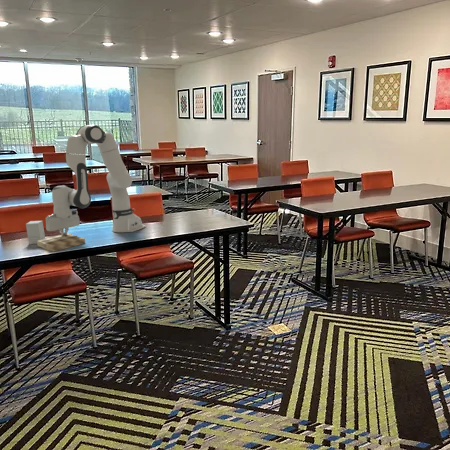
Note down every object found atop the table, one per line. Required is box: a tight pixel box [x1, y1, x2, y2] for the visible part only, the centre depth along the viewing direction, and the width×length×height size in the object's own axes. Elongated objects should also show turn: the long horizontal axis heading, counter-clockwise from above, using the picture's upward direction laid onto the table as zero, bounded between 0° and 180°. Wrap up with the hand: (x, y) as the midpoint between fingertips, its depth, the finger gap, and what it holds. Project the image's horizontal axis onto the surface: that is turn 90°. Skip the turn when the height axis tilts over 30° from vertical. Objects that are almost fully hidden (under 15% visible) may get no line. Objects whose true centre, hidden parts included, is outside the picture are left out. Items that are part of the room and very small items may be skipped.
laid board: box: [45, 235, 86, 252], centre depth 240 cm, size 20×8×3 cm, turn 142°
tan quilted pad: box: [36, 232, 76, 250], centre depth 246 cm, size 20×9×3 cm, turn 142°
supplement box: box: [25, 220, 46, 245], centre depth 249 cm, size 7×7×13 cm
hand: (64, 235), depth 250 cm, fingers closed, pressing on tan quilted pad
